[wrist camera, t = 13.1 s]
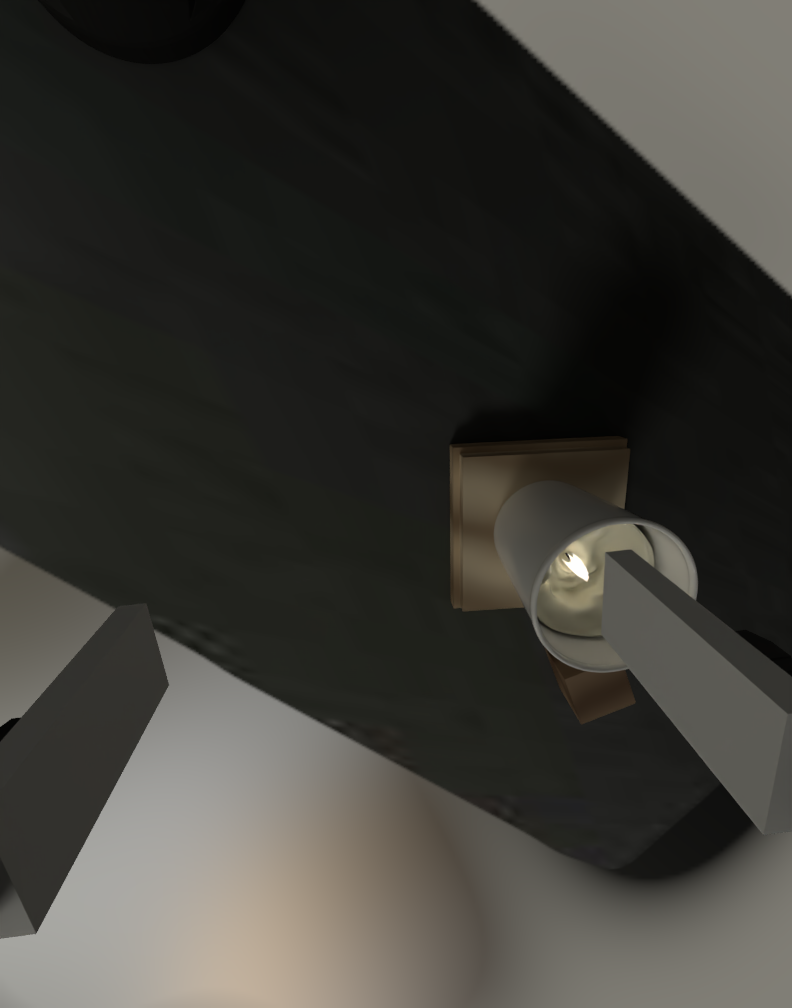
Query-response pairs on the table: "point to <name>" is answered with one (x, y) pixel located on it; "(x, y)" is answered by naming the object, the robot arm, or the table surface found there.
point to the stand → (499, 474)
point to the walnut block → (592, 690)
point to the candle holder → (578, 564)
